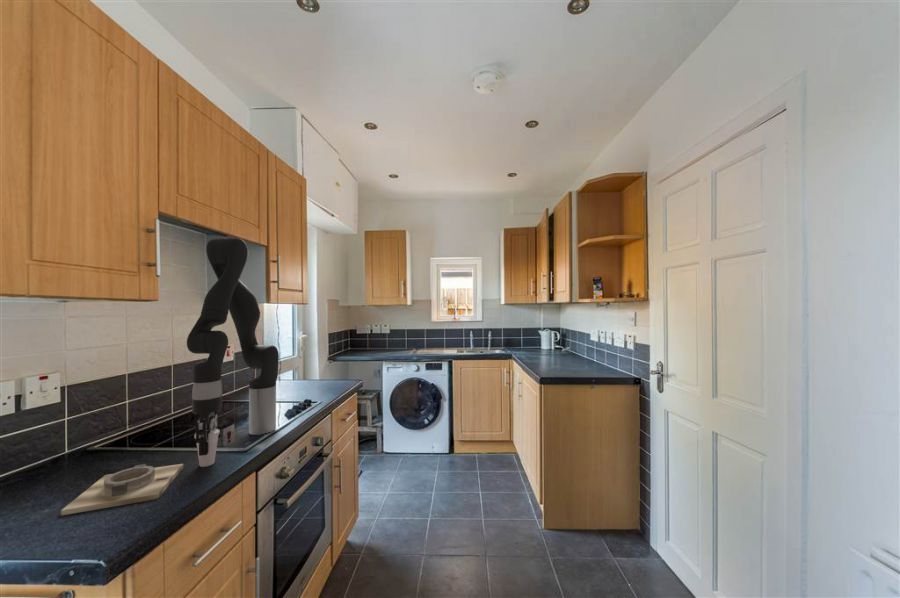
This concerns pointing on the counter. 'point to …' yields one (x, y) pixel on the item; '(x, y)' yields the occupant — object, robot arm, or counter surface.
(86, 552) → the counter surface
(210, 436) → the smoothie
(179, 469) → the holder
